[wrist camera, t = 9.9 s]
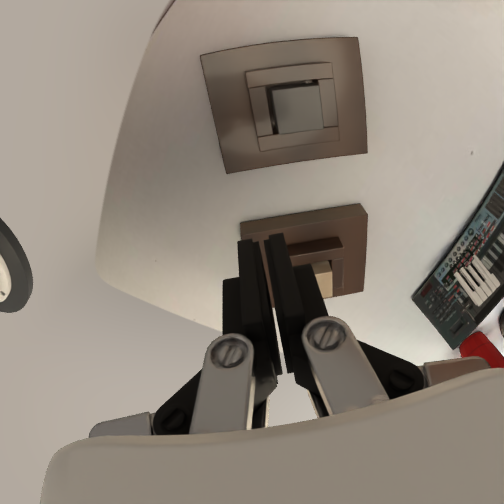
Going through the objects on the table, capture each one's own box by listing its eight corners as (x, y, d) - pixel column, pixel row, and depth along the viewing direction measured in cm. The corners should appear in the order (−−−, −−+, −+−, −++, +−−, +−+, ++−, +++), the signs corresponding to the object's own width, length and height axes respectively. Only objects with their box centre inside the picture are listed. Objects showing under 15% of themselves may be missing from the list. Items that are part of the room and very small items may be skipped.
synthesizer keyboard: (454, 353, 32) (447, 349, 25) (413, 300, 39) (394, 282, 32) (554, 236, 26) (567, 201, 19) (507, 193, 32) (506, 152, 26)
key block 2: (257, 296, 36) (259, 322, 33) (240, 222, 30) (240, 246, 27) (357, 278, 35) (368, 302, 32) (360, 203, 29) (374, 224, 26)
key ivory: (297, 290, 31) (300, 302, 29) (294, 265, 29) (297, 277, 28) (328, 284, 31) (332, 296, 29) (327, 259, 29) (332, 271, 27)
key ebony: (275, 129, 22) (278, 135, 20) (268, 87, 20) (271, 90, 18) (318, 123, 21) (324, 129, 20) (313, 82, 19) (319, 84, 18)
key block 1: (227, 165, 27) (225, 183, 23) (202, 55, 21) (196, 55, 18) (359, 145, 26) (376, 160, 23) (348, 37, 20) (367, 36, 17)
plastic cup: (482, 315, 43) (512, 367, 33) (498, 329, 46) (523, 374, 37) (439, 353, 48) (462, 406, 38) (460, 362, 51) (480, 408, 42)
